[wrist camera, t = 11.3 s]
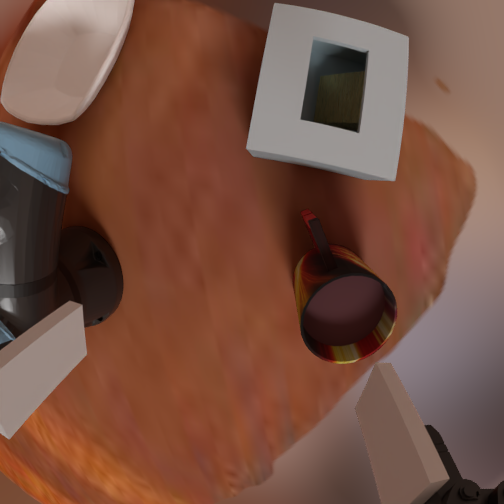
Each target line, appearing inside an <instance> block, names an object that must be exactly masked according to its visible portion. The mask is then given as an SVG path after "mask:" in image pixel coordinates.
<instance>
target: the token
mask: <svg viewBox="0 0 504 504" xmlns="http://www.w3.org/2000/svg"><path fill="white" fill-rule="evenodd" d="M364 77H365V71H361V72H350V73H341V74H333V75H325V76H320V82H319V88H318V95H317V101H316V108H315V114H314V120H313V122H315V123H319V124H324V125H328V126H333V127H337V128H341V129H345V130H357V131H358V125H359V117H360V110H361V102H362V94H363V86H364Z"/></svg>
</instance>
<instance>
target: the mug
mask: <svg viewBox="0 0 504 504" xmlns="http://www.w3.org/2000/svg"><path fill="white" fill-rule="evenodd" d="M301 215H302V217H303V220H304V222H305V225H306V227H307V229H308V232H309V234H310V237H311V239H312V241H313V244H314V246H315V248H314V249H312V250H310V251H309V252H307V253H306V254H305V255H304V256H303V257H302V258H301V260H300V261H299V262H298V264H297V266H296V268H295V271H294V275H293V288H294V294H295V300H296V306H297V312H298V318H299V324H300V330H301V335H302V338H303V341H304V343H305V344H306V346H307V347H308V349H309V350H310V351H311V352H312V353H313V354H314V355H315V356H317V357H319V358H320V359H322V360H325V361H328V362H331V363H338V364H344V363H352V362H357V361H359V360H362V359H365V358H367V357H368V356H370V355H372V354H374V353H375V352H376V351H377V350H379V349H380V348H381V347H382V346H383V345H384V344H385V342H386V341H387V340H388V338H389V337H390V335H391V334H392V331H393V329H394V327H395V324H396V319H397V305H396V300H395V297H394V295H393V293H392V291H391V290H390V288H389V287H388V286H387V285H386V284H385V283H384V282H383V281H382V280H381V279H380V278H379V277H378V276H377V275H376V274H375V273H374V272H373V271H372V270H371V269H370V268H369V267H368V266H367V265H366V264H365V263H364V262H363V261H362V260H361V259H360V258H359V257H358V256H357V255H356V254H355V253H354V252H352V251H351V250H350V249H348V248H346V247H344V246H341V245H337V244H328V242H327V239H326V237H325V234H324V232H323V229H322V226H321V224H320V221H319V219H318V218H317V217H316V216H315V215H314V214H312V212H311V211H310V210H309V209H306V210H304V211H301Z"/></svg>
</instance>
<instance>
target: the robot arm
mask: <svg viewBox="0 0 504 504" xmlns="http://www.w3.org/2000/svg"><path fill="white" fill-rule="evenodd" d="M71 164H72V151H71V148H70V147H69V145H68V144H67V143H66V142H65V141H63V140H60V139H58V138H55V137H52V136H49V135H45V134H42V133H39V132H35V131H32V130H29V129H26V128H22V127H19V126H15V125H12V124H8V123H4V122H0V433H1V434H2V435H4V436H5V437H6V438H8V439H10V438H11V437H12V436H13V435H14V433H15V432H16V431H17V430H18V429H19V428H20V427H21V425H22V424H23V423H24V422H25V421H26V420H27V419H28V417H29V416H30V415H31V414H32V413H33V412H34V411H35V410H36V408H37V407H38V406H39V405H40V404H41V403H42V402H43V401H44V400H45V399H46V397H47V396H48V395H49V394H50V393H51V392H52V391H53V390H54V389H55V388H56V387H57V385H58V384H59V383H60V382H61V381H62V380H63V379H64V378H65V377H66V376H67V375H68V374H69V373H70V372H71V371H72V369H73V368H74V367H75V366H76V365H77V364H78V363H79V362H80V361H81V360H82V359H83V358H84V357H85V356H86V355H87V350H86V341H85V332H84V328H85V327H90V326H94V325H97V324H99V323H101V322H103V321H105V320H106V319H107V318H108V317H109V316H110V315H111V314H113V313H114V311H115V310H116V309H117V307H118V306H119V304H120V301H121V298H122V294H123V276H122V271H121V267H120V264H119V262H118V259H117V257H116V255H115V253H114V251H113V250H112V248H111V247H110V245H109V244H108V243H107V242H106V241H105V240H104V239H103V238H102V237H101V236H100V235H99V234H97V233H96V232H94V231H93V230H91V229H89V228H86V227H81V226H72V227H68V228H65V229H62V230H61V228H62V220H63V213H64V207H65V201H66V195H67V194H68V193H69V187H68V183H69V177H70V170H71ZM355 410H356V413H357V417H358V420H359V424H360V427H361V430H362V434H363V437H364V440H365V444H366V448H367V451H368V455H369V459H370V462H371V466H372V470H373V473H374V477H375V481H376V485H377V488H378V493H379V497H380V501H381V504H504V481H502V482H501V483H500V484H499V485H498V486H497V487H496V488H495V489H480V487H479V486H478V485H477V484H476V483H475V482H473V481H471V480H467V479H462V477H461V475H460V473H459V471H458V469H457V467H456V465H455V463H454V461H453V459H452V457H451V455H450V453H449V452H448V449H447V447H446V445H445V444H444V441H443V439H442V437H441V435H440V434H439V432H437V430H435V429H434V428H433V427H432V426H431V425H424V424H423V422H422V420H421V418H420V416H419V414H418V412H417V411H416V409H415V407H414V405H413V403H412V401H411V399H410V397H409V396H408V394H407V392H406V390H405V388H404V386H403V384H402V383H401V381H400V379H399V377H398V375H397V373H396V372H395V370H394V368H393V366H392V364H391V363H379V362H376V363H375V365H374V368H373V370H372V373H371V375H370V377H369V379H368V382H367V384H366V386H365V388H364V390H363V392H362V395H361V397H360V399H359V401H358V403H357V405H356V407H355Z"/></svg>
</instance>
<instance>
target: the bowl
mask: <svg viewBox="0 0 504 504" xmlns="http://www.w3.org/2000/svg"><path fill="white" fill-rule="evenodd" d="M134 2H135V0H47V1H46V2H45V3H44V4H43V5H42V7H41V8H40V9H39V10H38V11H37V13H36V14H35V15H34V17H33V18H32V20H31V21H30V23H29V24H28V26H27V28H26V29H25V31H24V33H23V35H22V37H21V38H20V40H19V42H18V44H17V46H16V48H15V51H14V53H13V55H12V58H11V61H10V63H9V66H8V69H7V72H6V75H5V78H4V82H3V86H2V93H1V103H2V105H3V106H4V108H5V109H6V111H7V112H9V113H10V114H12V115H13V116H15V117H16V118H18V119H21V120H23V121H25V122H27V123H34V124H40V125H60V124H64V123H68V122H72V121H74V120H76V119H77V118H78V117H79V116H80V115H81V114H82V113H83V112H84V111H85V110H86V109H87V108H88V107H89V105H90V104H91V103H92V102H93V100H94V99H95V98H96V96H97V94H98V93H99V91H100V89H101V88H102V86H103V84H104V83H105V81H106V79H107V77H108V75H109V73H110V71H111V70H112V68H113V66H114V64H115V62H116V60H117V58H118V55H119V53H120V50H121V48H122V46H123V44H124V41H125V38H126V35H127V32H128V30H129V27H130V22H131V18H132V13H133V7H134Z"/></svg>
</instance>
